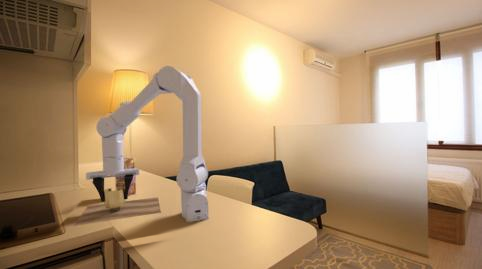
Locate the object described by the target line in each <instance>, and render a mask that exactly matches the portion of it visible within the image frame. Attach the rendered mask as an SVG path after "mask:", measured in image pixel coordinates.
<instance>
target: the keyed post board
mask: <svg viewBox="0 0 482 269" xmlns="http://www.w3.org/2000/svg"><path fill="white" fill-rule="evenodd" d="M125 201H126V204H125V205H123V206H121V207H117V208H105V203H101V204H94V205H88V206H87V207H86V208H85V209H84V211H83V212H82V213H81V215H80V217H79V218H78V219H77V221H76V222H75V223H74V227H75V226H80V225H86V224H87V225H88V224H94V223H95V224H96V223H99V222H101V223H102V222H108V221H114V220H119V219H120V220H121V219H126V218H133V217H140V216H147V215H154V214H160V213H162V211H161V207H160V200H159V197H158V196H156V197H147V198H139V199H133V200H125Z"/></svg>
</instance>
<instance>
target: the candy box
mask: <svg viewBox="0 0 482 269" xmlns="http://www.w3.org/2000/svg"><path fill="white" fill-rule="evenodd" d="M123 159H124V169H134V168H136V157H125V158H124V157H123ZM117 175H120V174H117ZM124 177H125V176H119V177H114V179H115V183H114V184H115V191H117V190H118V187H124V188H125V182H124ZM136 185H137V184H136V175H134V176H133V180H132V182H131V184H130V187H129V191H128V197H130V196H132V195H137V193H136V192H137V191H136V190H137V188H136V187H137V186H136Z"/></svg>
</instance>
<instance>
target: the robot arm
mask: <svg viewBox="0 0 482 269" xmlns="http://www.w3.org/2000/svg"><path fill="white" fill-rule="evenodd" d="M163 94H174V95H175V96H176V97H177V98H178V99H179V100H181V102H182V158H181V160H180V163H179V171H178V173H177V174H176V185H177V186H178V187H179V188H180V198H181V199H180V202H181V207H180V208H181V216H182V218H183V219H185V221H186V223H192V222H199V221H203V220H209V219H210V215H209V200H208V197H207V185H206V180H207V179H208V176H209V171H208V169H207V166H206V159H205V158H204V156H203V153H202V152H203V151H202V150H203V149H202V145H203V144H202V138H203V137H202V136H203V135H202V94H201V92H200V91H199V89H198V87H197V85H196V84H195V82H194V79H193V77H192V76H189V75H188V74H187V73H185V72H182V71H181V70H179V69H176V68H175V67H173V66H171V65H164V66H163V67H161V68H160V69H159V71H158V72H156V73H154V74H153V76H152V78H151V80H150V81H149V82H148V84H146V86H145V87H144V88H143V89H142V90H141V91H140V92H139V93H138V94H137V95H136V96H135V97H134V98H133V99H132V100H131V101H129V100H128V101H127V100H126V101H124V102H123V101H122V102H121V103H119V107H118V108H117V109H115V110H114V111H113V112H111V113H109V115H108V116H106V117H105V116H103V117H100V118H99V120H98V121H97V123H96V131H97V133H98V135H100V136H101V151H102V152H101V153H102V170H98V171H97V170H96V171H90V172H89V171H88V172H86V173H85V180H86V181H88V180H89V181H90V180H92V181H91V182H92V185H93V186H94V188H96V190H97V193H98V195H99V198H100V201H101V203H104V190H105V178H106V179H107V178H115V177H119V176H125V177H124V182H125V200H128V197H129V196H128V191H129V187H130V184H131V182H132V180H133V176H134V175H135V176H140V167H139V168H138V167H137V168H136V167H135V168H134V169H124V141H123V140H125V139H124V135H125V133H126V132H127V128H128V127H129V126H131V124H132V123H133V122H134V121H135V120H136V119H138V118H139V117H140V116H141V110H142V109H143V108H144V107H146V106H147V105H148V104H150V103H151V102H152V101H154V99H156V98H157V97H158V96H160V95H163ZM117 174H120V175H117Z"/></svg>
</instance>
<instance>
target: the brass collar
mask: <svg viewBox="0 0 482 269" xmlns="http://www.w3.org/2000/svg"><path fill="white" fill-rule="evenodd" d="M126 201H127V200H126V199H125V188H124V187H118V190H117V191H116V190H112V187H109V188H106V189H105V188H104V202H103V204H105V208H117V207H121V206H123V205H125V204H126Z"/></svg>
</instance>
